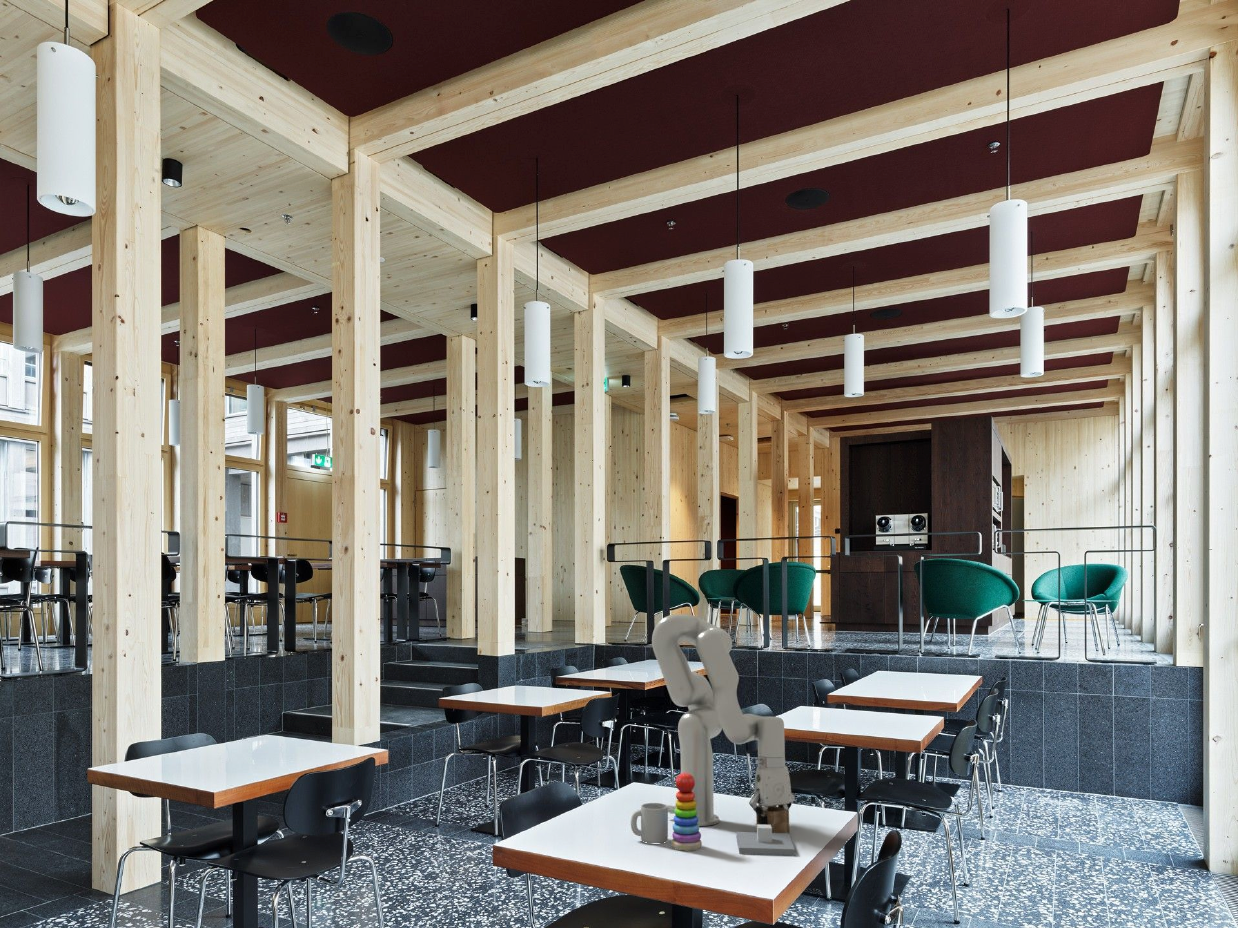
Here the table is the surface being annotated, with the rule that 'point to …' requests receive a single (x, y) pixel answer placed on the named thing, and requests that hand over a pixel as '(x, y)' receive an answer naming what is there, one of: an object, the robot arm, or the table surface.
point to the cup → (651, 823)
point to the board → (764, 842)
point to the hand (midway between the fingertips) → (772, 828)
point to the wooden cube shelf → (777, 819)
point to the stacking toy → (685, 816)
